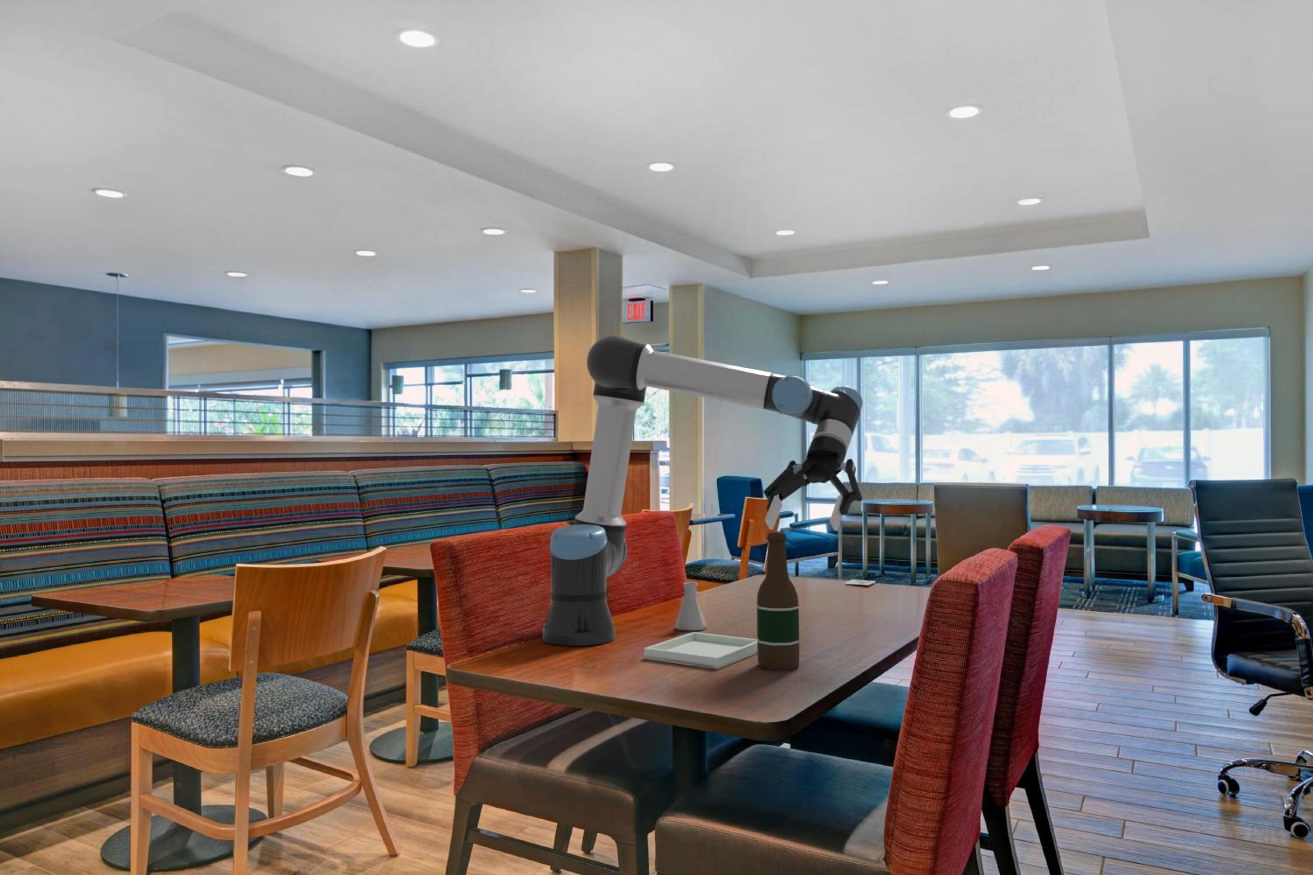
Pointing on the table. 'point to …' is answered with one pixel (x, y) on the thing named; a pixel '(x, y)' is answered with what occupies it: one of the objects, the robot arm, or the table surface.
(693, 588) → the flask
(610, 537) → the robot arm
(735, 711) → the table surface
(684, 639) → the tray
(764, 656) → the beer bottle
